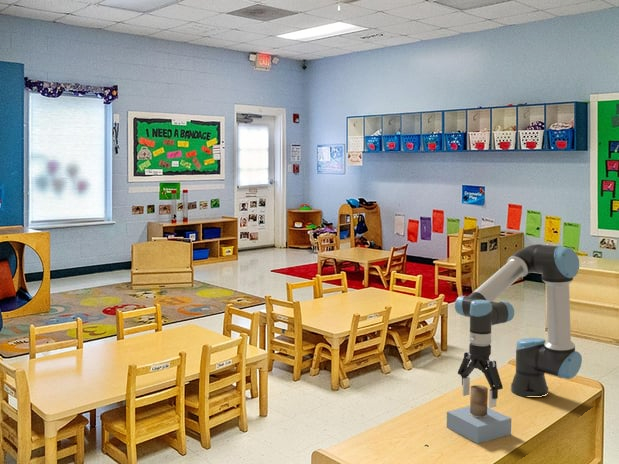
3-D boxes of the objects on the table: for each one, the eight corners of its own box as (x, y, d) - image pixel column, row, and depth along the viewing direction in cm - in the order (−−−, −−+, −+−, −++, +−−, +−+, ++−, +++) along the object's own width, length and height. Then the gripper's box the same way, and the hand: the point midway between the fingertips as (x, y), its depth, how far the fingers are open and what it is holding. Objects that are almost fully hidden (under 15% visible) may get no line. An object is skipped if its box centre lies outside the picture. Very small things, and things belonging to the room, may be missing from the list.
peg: (478, 423, 229) (479, 384, 228) (490, 429, 224) (491, 389, 222) (466, 426, 226) (466, 386, 225) (477, 432, 221) (478, 392, 219)
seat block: (479, 418, 236) (479, 403, 235) (511, 434, 222) (511, 418, 221) (446, 427, 228) (446, 411, 228) (477, 443, 214) (477, 427, 214)
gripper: (448, 336, 231) (447, 392, 233) (498, 353, 209) (496, 414, 211) (464, 334, 235) (463, 388, 237) (514, 350, 213) (512, 410, 215)
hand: (478, 400), depth 224 cm, fingers open, 13 cm apart
